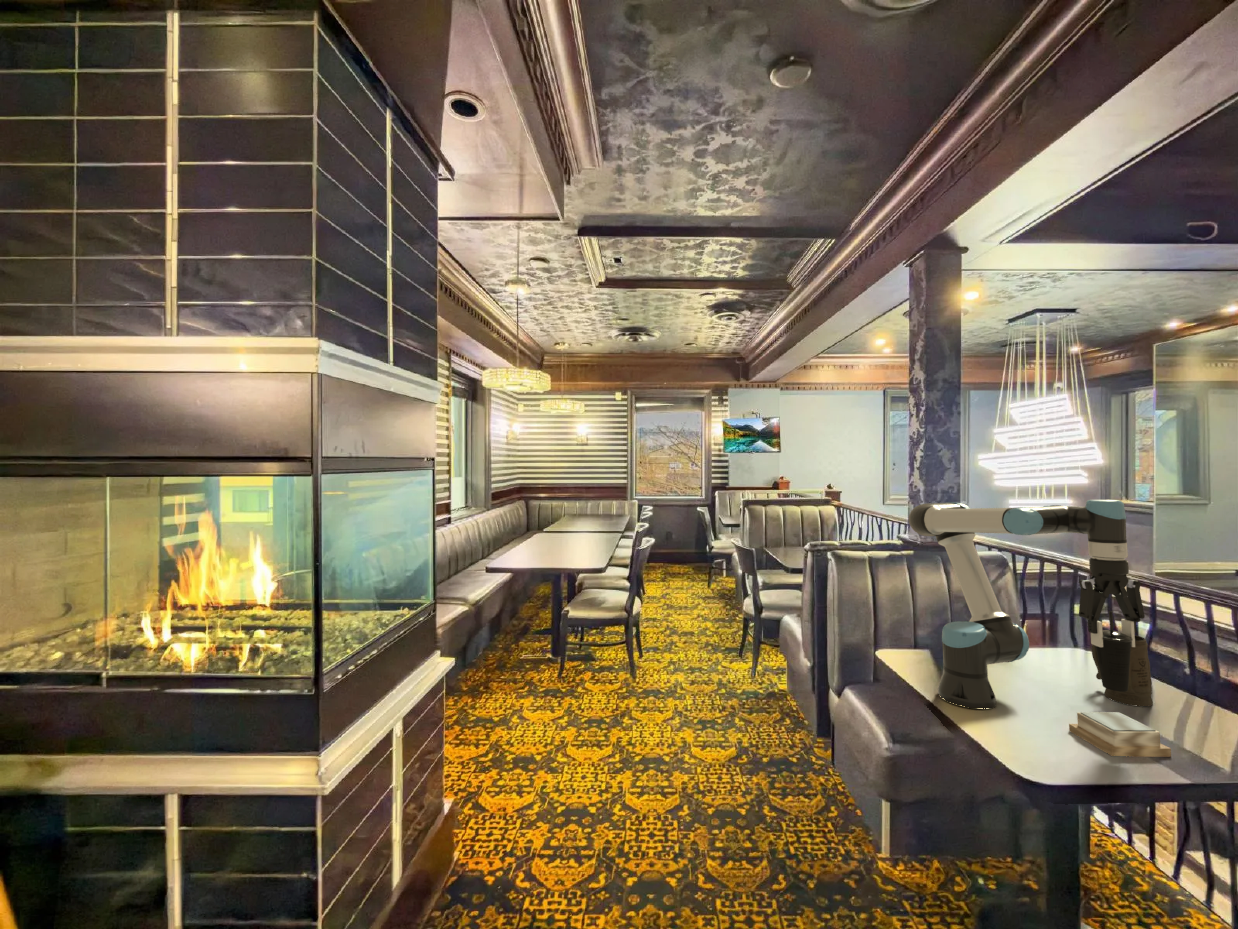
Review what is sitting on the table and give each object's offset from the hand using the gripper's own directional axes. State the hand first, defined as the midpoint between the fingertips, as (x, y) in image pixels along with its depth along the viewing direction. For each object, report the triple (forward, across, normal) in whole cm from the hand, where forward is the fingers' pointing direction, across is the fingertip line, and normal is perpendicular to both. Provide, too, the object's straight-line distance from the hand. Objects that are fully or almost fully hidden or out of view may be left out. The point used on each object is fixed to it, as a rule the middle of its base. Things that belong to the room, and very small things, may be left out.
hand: (1112, 645), depth 135 cm
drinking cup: (+11, 0, 0) cm, 11 cm away
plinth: (+25, 0, 0) cm, 25 cm away
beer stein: (+26, +26, +29) cm, 47 cm away
